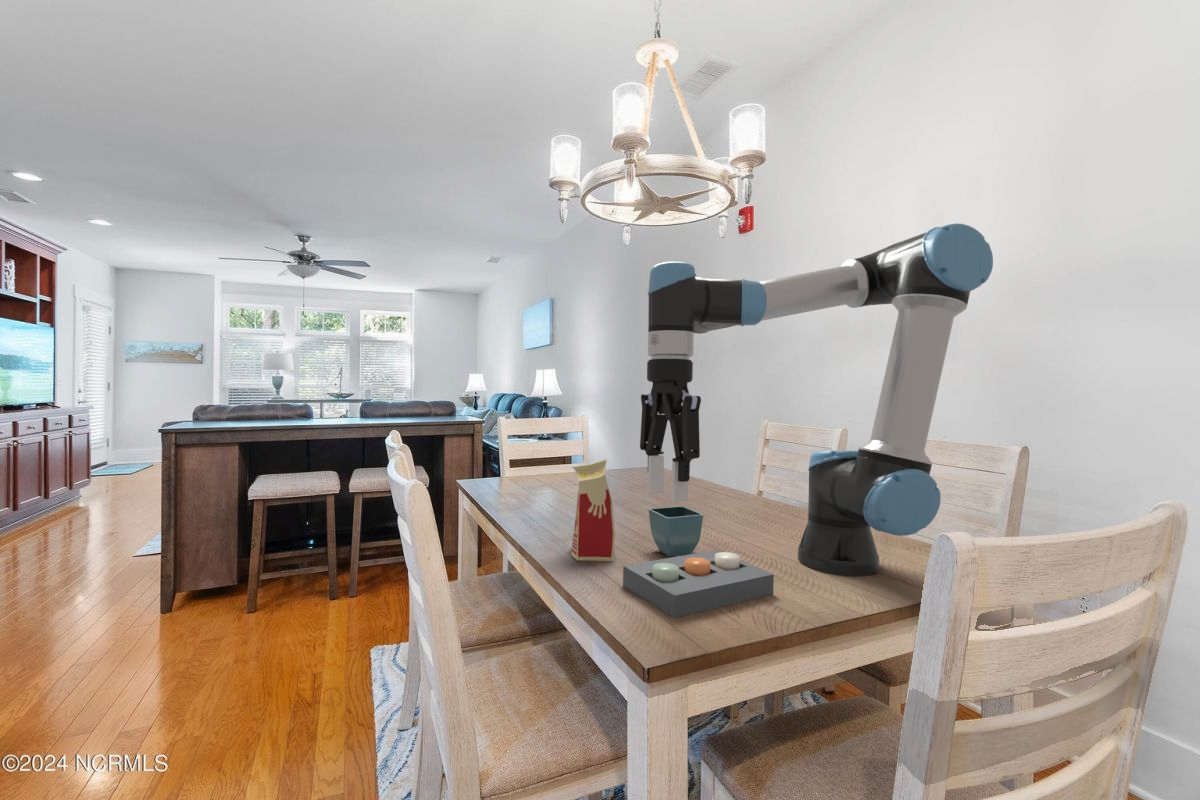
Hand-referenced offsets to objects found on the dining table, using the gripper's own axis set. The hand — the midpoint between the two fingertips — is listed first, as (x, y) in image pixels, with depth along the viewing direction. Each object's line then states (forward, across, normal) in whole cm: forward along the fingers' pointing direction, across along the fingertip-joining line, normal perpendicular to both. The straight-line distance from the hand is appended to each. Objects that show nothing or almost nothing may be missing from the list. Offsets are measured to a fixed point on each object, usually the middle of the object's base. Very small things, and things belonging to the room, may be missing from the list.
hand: (667, 496), depth 90 cm
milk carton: (+17, -26, 0) cm, 31 cm away
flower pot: (+17, -18, +16) cm, 30 cm away
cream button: (+15, 0, +14) cm, 20 cm away
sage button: (+15, 0, 0) cm, 15 cm away
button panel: (+17, 0, +7) cm, 18 cm away
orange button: (+15, 0, +7) cm, 16 cm away
